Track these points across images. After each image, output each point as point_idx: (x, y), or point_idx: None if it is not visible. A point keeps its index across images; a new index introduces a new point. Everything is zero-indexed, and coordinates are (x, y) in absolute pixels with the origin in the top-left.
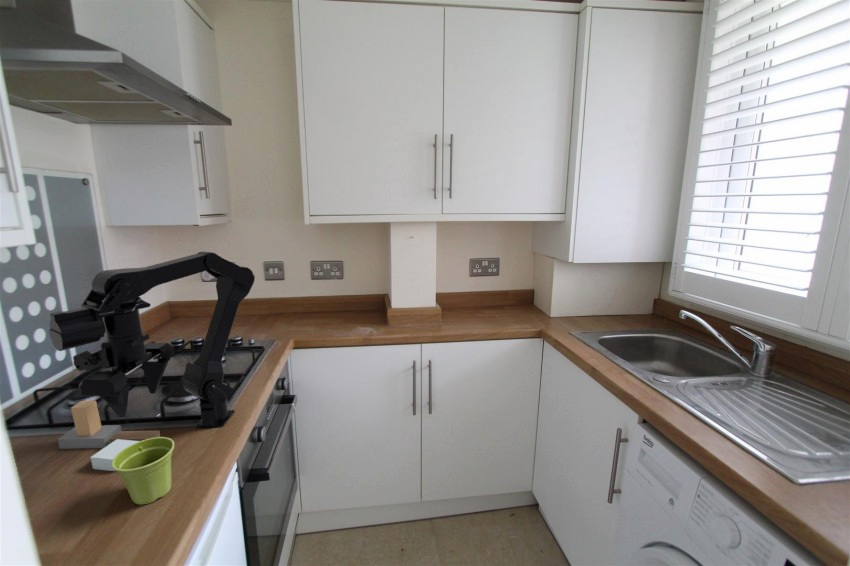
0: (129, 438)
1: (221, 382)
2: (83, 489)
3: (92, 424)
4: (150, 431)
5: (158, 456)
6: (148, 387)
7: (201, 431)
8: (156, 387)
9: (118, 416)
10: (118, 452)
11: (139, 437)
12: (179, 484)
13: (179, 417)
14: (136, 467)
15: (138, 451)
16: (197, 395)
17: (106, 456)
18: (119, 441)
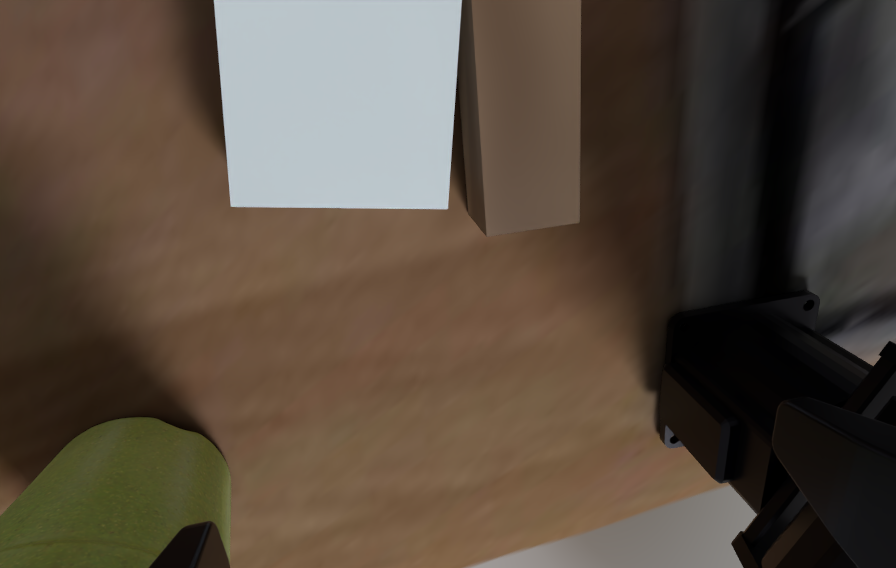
0: (482, 75)
1: None
2: (40, 95)
3: None
4: (570, 167)
5: None
6: (855, 450)
7: (627, 364)
8: (833, 534)
9: (179, 531)
10: (308, 145)
11: (496, 146)
12: None
13: (792, 131)
14: (122, 491)
15: (138, 558)
16: (787, 561)
17: (249, 91)
18: (433, 32)
